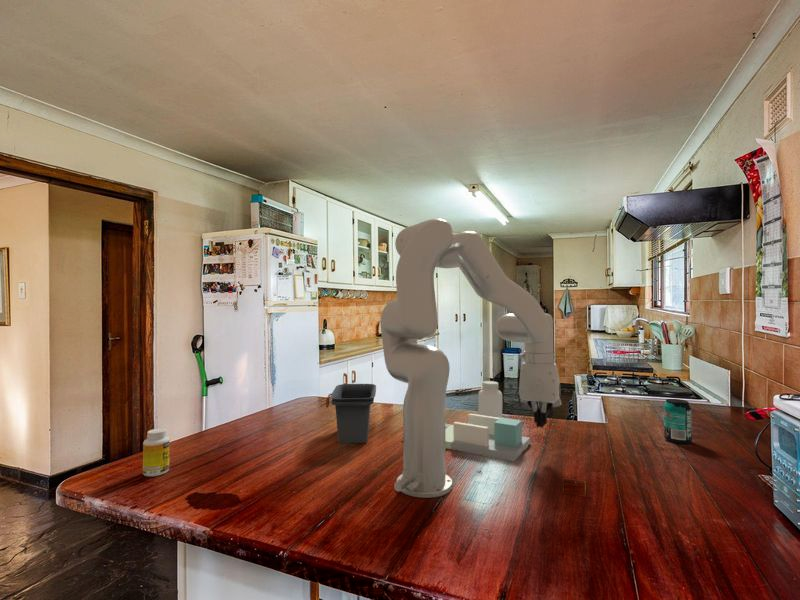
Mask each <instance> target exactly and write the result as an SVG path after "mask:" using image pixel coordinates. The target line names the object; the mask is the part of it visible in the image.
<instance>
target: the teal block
mask: <svg viewBox="0 0 800 600" xmlns="http://www.w3.org/2000/svg"><path fill="white" fill-rule="evenodd" d="M522 424H523V421H522V420H520V419H515V418H507V417H502V418H500V419H499V420H497V421H496V422H494V444H497V445H503V446H508V447H514V448H516V447H517V446H518V445H519V444H520V443H521V442H522V436H523V425H522Z"/></svg>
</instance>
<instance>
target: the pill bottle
mask: <svg viewBox="0 0 800 600" xmlns="http://www.w3.org/2000/svg"><path fill="white" fill-rule="evenodd" d="M477 395H478V404H477V405H478V408H477V412H478V413H477V415H484V416H491V417H498V418H503V393H502V391H501V390H499V382H498V381H492V380H486V381H482V388H481V389H480V390H479V391H478V394H477Z"/></svg>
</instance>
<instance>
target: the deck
mask: <svg viewBox="0 0 800 600" xmlns="http://www.w3.org/2000/svg"><path fill="white" fill-rule="evenodd" d="M467 415H468V419H467V423H465V422H459V421H454V422H453V424H450V423H445V447H446V450H447V449H448V450H453V451H457V450H458V451H459V452H462V453H468V454H472V455H478V456H483V457H487V456H488V458H493V459H498V460H503V461H509V462H512V461H513V462H514V461H515V462H516V461H517V460H518V459H519V458H520V457H521V455H522V454H523V453H524V452H525V451H524V450H527V448H529V446H530V445H531V437H527V436H523V435H522V442H521V443H520V444H519V445H518V446H517V447H516V448H514V447H508V446H503V445H497V444H494V422H496V421H497V420H499V419H500V418H498V417H491V416H484V415H478V413H475V414H474V413H468V414H467ZM529 444H530V445H529ZM528 445H529V446H528ZM523 451H524V452H523ZM522 452H523V453H522ZM521 453H522V454H521ZM513 462H512V463H513Z"/></svg>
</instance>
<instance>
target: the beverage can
mask: <svg viewBox="0 0 800 600" xmlns="http://www.w3.org/2000/svg"><path fill="white" fill-rule="evenodd" d="M692 409H693V408H692V406H691V405H690V402H689V401H688V400H684V399H679V398H668V399H665V403H664V404H663V438H664V439H665V440H666V441H668V442H671V443H673V444H680V445H688V444H691V442H692V441H693V429H692V428H693V425H692V424H693V423H692V414H693V413H692Z"/></svg>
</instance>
